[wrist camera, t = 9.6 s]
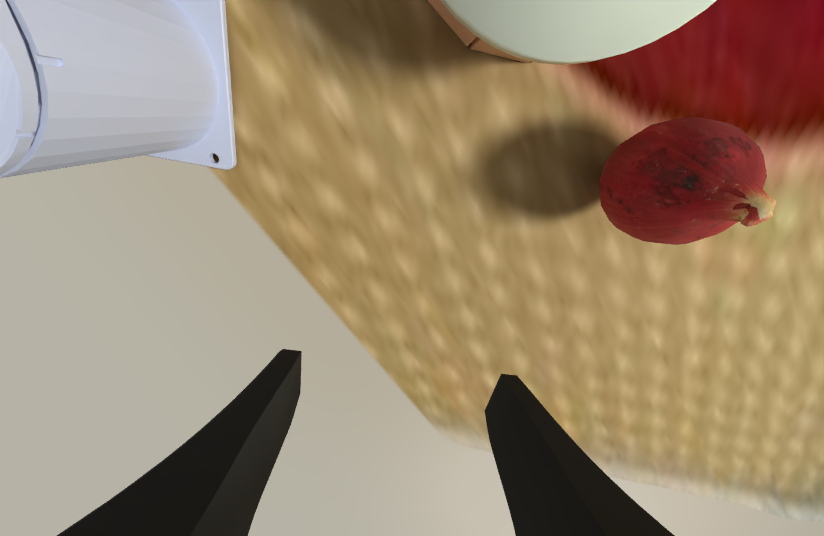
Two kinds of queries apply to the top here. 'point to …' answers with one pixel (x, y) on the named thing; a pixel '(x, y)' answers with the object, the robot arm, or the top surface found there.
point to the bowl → (468, 33)
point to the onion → (685, 181)
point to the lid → (572, 25)
